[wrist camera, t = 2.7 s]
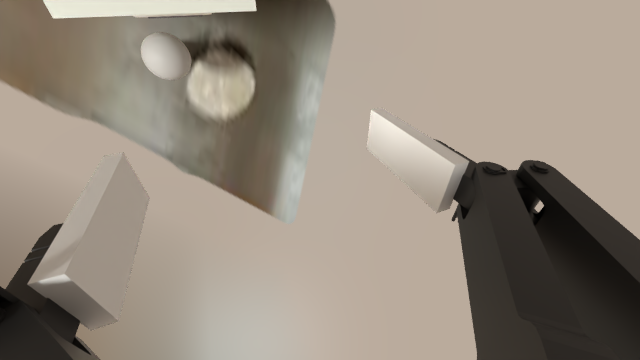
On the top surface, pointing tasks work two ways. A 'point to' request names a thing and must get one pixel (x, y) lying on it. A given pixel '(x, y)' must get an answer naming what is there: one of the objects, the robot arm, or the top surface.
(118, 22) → the top surface
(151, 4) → the unit
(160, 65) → the white rounded knobbed part
